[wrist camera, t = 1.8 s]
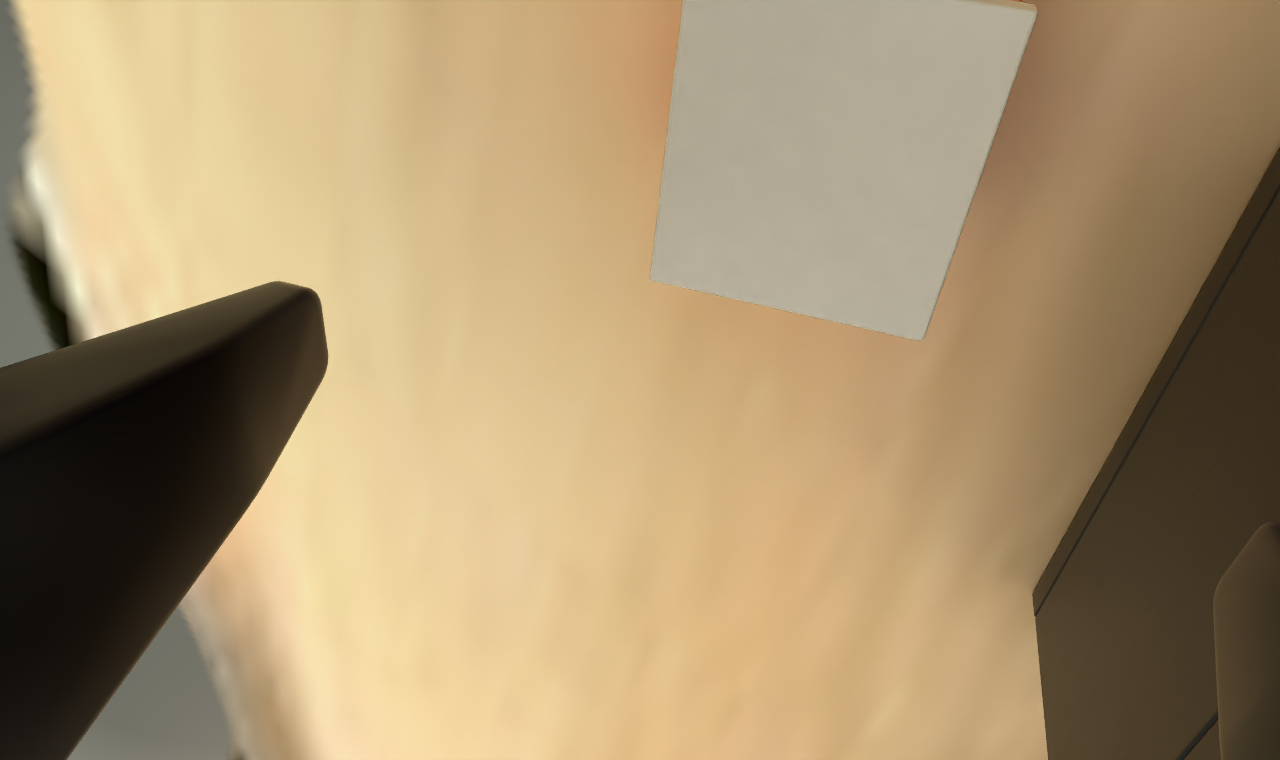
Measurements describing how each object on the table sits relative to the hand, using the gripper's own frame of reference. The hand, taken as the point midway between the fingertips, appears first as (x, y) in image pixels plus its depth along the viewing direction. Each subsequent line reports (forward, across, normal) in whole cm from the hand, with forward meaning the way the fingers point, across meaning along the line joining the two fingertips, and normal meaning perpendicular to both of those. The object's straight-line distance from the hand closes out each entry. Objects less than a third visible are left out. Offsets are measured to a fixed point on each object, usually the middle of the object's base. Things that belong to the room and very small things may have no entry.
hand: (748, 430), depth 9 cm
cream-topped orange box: (+11, 0, 0) cm, 11 cm away
